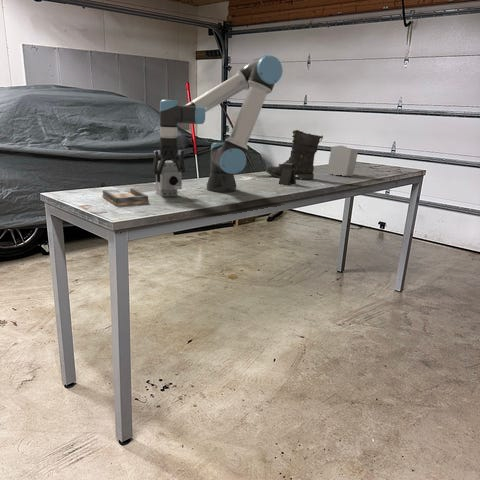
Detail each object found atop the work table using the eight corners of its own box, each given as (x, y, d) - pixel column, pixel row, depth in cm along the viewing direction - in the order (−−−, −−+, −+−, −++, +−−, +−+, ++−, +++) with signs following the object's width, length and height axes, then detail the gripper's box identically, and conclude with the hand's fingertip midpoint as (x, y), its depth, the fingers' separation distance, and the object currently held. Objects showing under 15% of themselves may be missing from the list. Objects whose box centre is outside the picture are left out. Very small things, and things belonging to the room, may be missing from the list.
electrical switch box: (356, 179, 281) (362, 149, 277) (345, 177, 270) (351, 146, 266) (337, 176, 290) (342, 147, 286) (326, 174, 279) (332, 144, 275)
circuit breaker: (167, 199, 180) (167, 164, 175) (155, 193, 191) (154, 160, 187) (183, 198, 184) (183, 164, 179) (170, 192, 195) (170, 160, 190)
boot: (266, 174, 267) (269, 128, 258) (318, 178, 261) (323, 131, 252) (264, 176, 256) (267, 128, 247) (318, 181, 250) (323, 131, 242)
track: (133, 194, 185) (133, 188, 184) (148, 203, 171) (148, 196, 170) (102, 197, 178) (102, 190, 177) (115, 205, 164) (115, 198, 163)
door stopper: (287, 185, 229) (288, 163, 225) (278, 184, 232) (280, 162, 229) (296, 184, 235) (297, 162, 232) (287, 182, 239) (289, 161, 235)
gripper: (186, 136, 188) (185, 186, 195) (143, 136, 177) (144, 188, 184) (193, 137, 182) (192, 188, 189) (149, 137, 171) (150, 191, 178)
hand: (168, 188), depth 186 cm, fingers closed on circuit breaker, 8 cm apart
